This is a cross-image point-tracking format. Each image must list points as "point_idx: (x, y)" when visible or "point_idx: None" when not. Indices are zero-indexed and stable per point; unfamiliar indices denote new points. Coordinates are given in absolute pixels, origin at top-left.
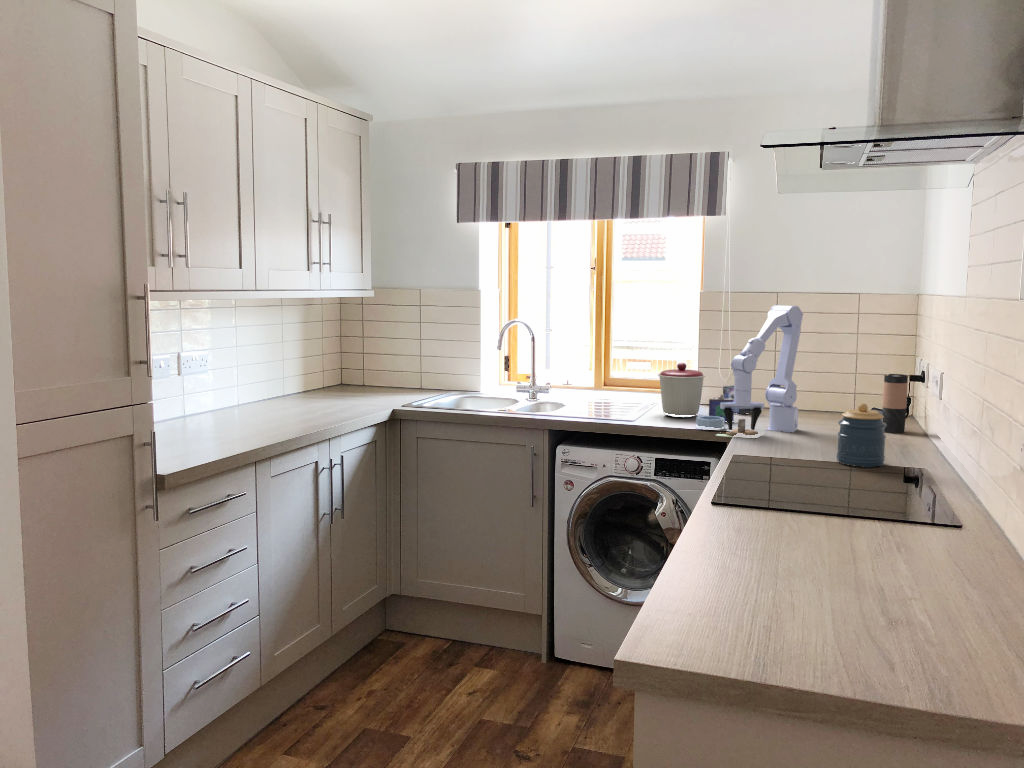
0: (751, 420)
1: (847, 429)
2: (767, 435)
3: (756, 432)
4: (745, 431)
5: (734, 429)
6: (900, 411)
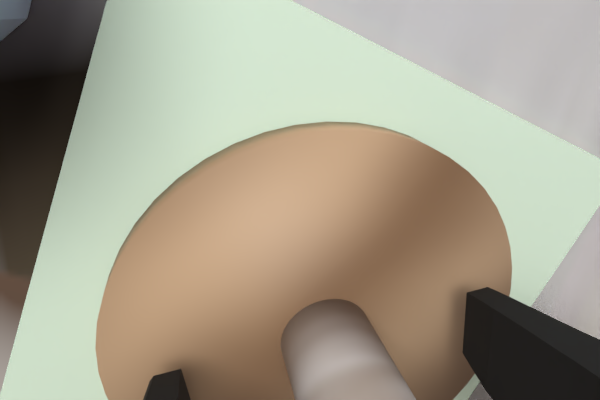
0: (567, 371)
1: None
2: (571, 264)
3: None
4: (380, 305)
5: (251, 186)
6: None
